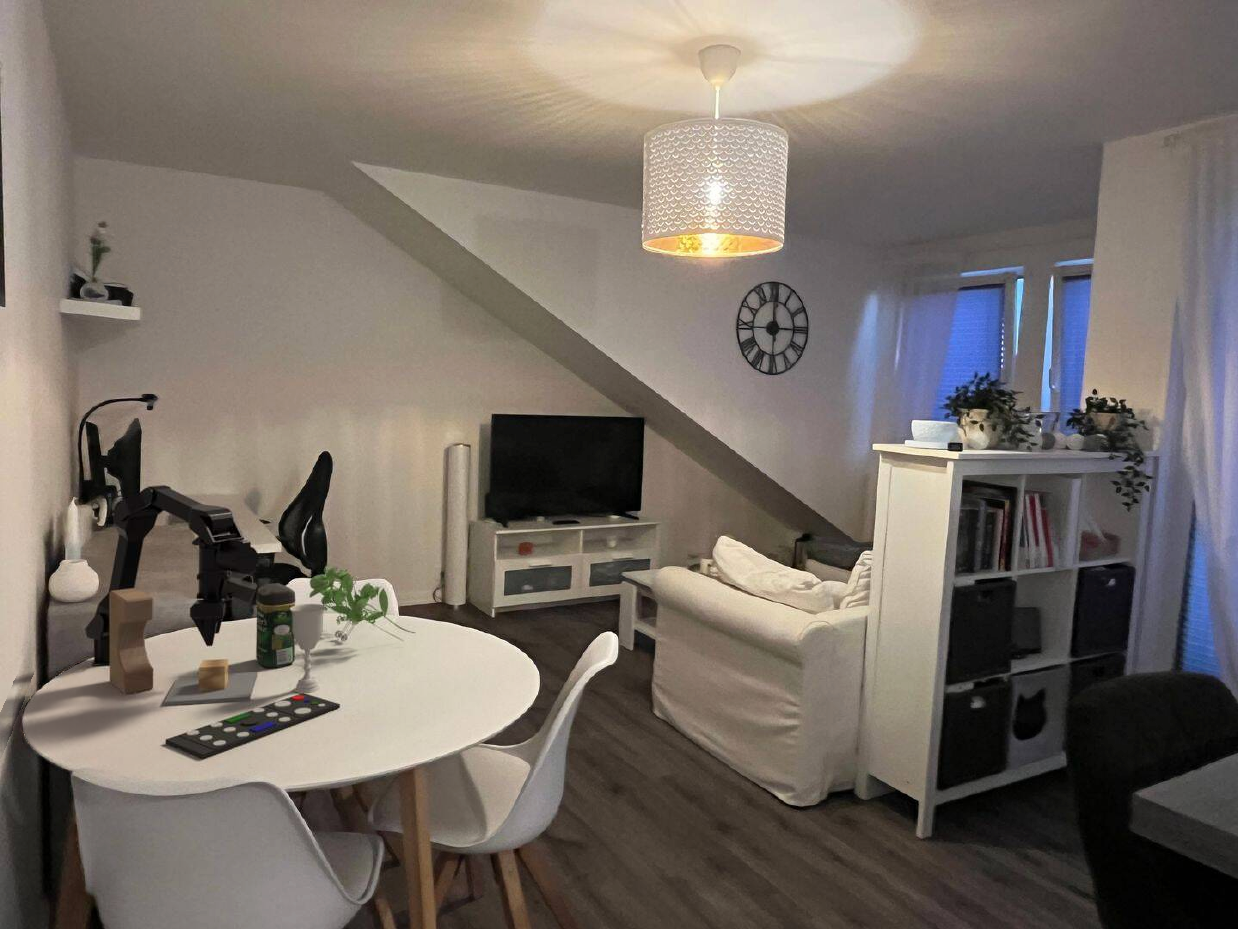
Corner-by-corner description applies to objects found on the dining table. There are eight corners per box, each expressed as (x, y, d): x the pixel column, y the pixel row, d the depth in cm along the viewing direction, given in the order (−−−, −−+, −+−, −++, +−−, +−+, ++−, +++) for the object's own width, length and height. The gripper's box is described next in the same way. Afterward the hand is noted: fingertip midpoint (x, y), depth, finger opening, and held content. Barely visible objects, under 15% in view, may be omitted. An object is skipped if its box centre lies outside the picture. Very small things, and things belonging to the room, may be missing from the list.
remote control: (339, 711, 175) (339, 701, 174) (203, 762, 148) (203, 751, 148) (303, 699, 180) (303, 690, 180) (165, 747, 154) (165, 736, 154)
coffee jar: (251, 659, 203) (252, 583, 201) (285, 654, 207) (286, 579, 206) (263, 670, 195) (264, 591, 193) (298, 665, 200) (299, 587, 198)
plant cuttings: (346, 645, 239) (282, 606, 226) (381, 593, 244) (321, 552, 232) (400, 681, 212) (331, 638, 200) (439, 622, 218) (374, 577, 205)
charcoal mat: (163, 705, 172) (163, 702, 172) (179, 679, 187) (179, 676, 187) (249, 700, 177) (249, 696, 177) (257, 675, 192) (257, 671, 192)
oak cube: (198, 690, 179) (198, 667, 178) (202, 682, 183) (202, 660, 183) (224, 689, 180) (224, 666, 180) (227, 681, 185) (228, 659, 184)
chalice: (290, 696, 180) (292, 613, 178) (287, 686, 186) (288, 605, 184) (326, 692, 183) (328, 610, 182) (322, 682, 189) (323, 603, 188)
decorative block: (154, 689, 180) (154, 597, 179) (124, 695, 176) (123, 601, 175) (138, 676, 188) (138, 587, 186) (109, 681, 184) (108, 590, 182)
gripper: (249, 576, 173) (248, 651, 175) (259, 558, 191) (258, 626, 192) (189, 577, 170) (189, 653, 171) (204, 559, 188) (204, 628, 189)
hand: (213, 639), depth 181 cm, fingers open, 9 cm apart
